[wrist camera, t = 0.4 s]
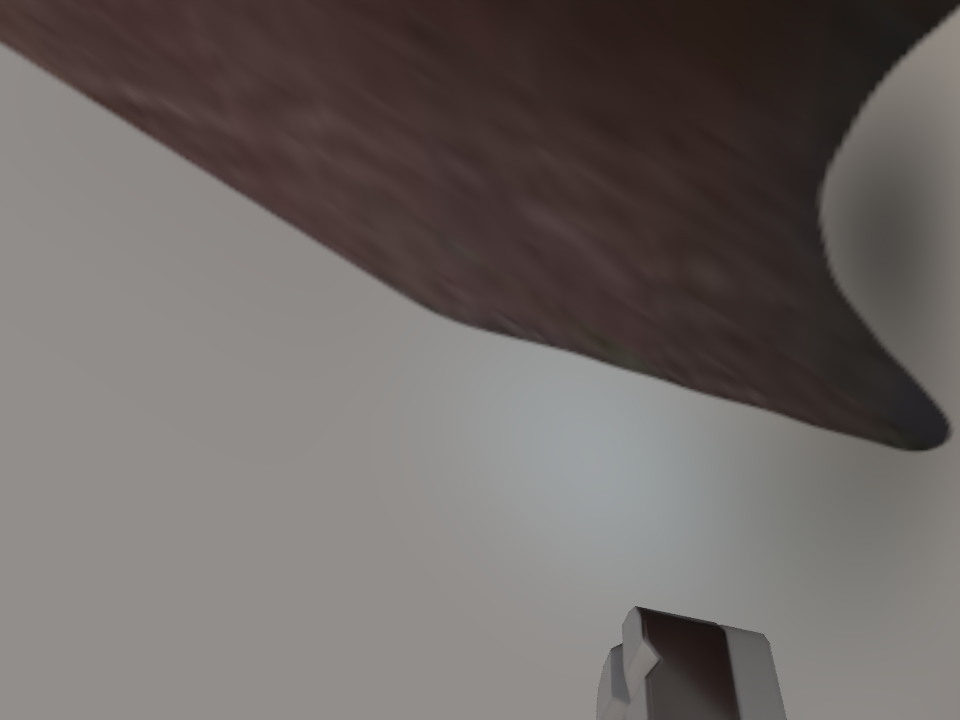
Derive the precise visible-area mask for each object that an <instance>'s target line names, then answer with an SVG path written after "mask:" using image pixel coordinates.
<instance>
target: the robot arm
mask: <svg viewBox="0 0 960 720" xmlns="http://www.w3.org/2000/svg"><path fill="white" fill-rule="evenodd" d="M622 635H623V643H622V644H620V645H618V646H616V647H614V648H612V649H611V650H610V652H609V655H608V657H607V659H606V662H605V664H604V666H603V671H602V675H601V680H600V684H599V688H598V698H597V720H787V718H786V714H785V710H784V705H783V701H782V696H781V692H780V687H779V683H778V678H777V674H776V670H775V665H774V660H773V656H772V651H771V647H770V643H769V641H768V640H767V638H766V637H765V635H764V634H761V633H757V632H752V631H748V630H742V629H738V628H734V627H729V626H724V625H718V624H717V623H714V622H710V621H705V620H700V619H695V618H690V617H685V616H680V615H676V614H671V613H666V612H661V611H656V610H651V609H647V608H642V607H637V606H635V607H634V608H633V609H631V610H630V611H629V613H628V615H627V617H626V619H625V621H624V623H623V625H622Z"/></svg>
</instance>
